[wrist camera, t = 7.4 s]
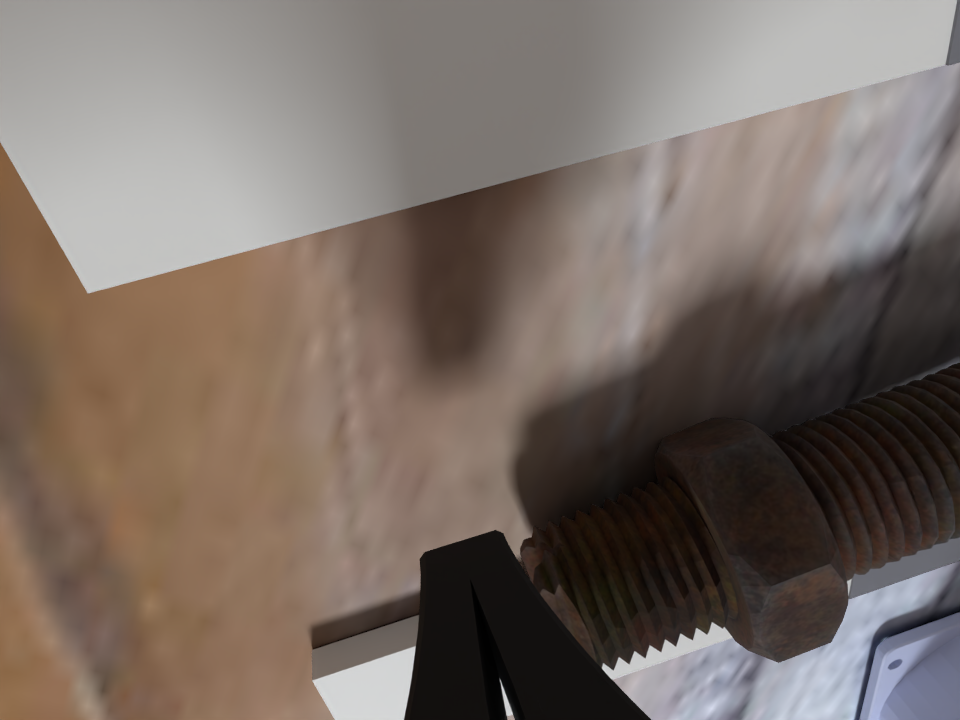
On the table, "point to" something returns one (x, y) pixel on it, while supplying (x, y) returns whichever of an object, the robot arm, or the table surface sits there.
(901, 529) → the bolt
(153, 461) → the table surface
